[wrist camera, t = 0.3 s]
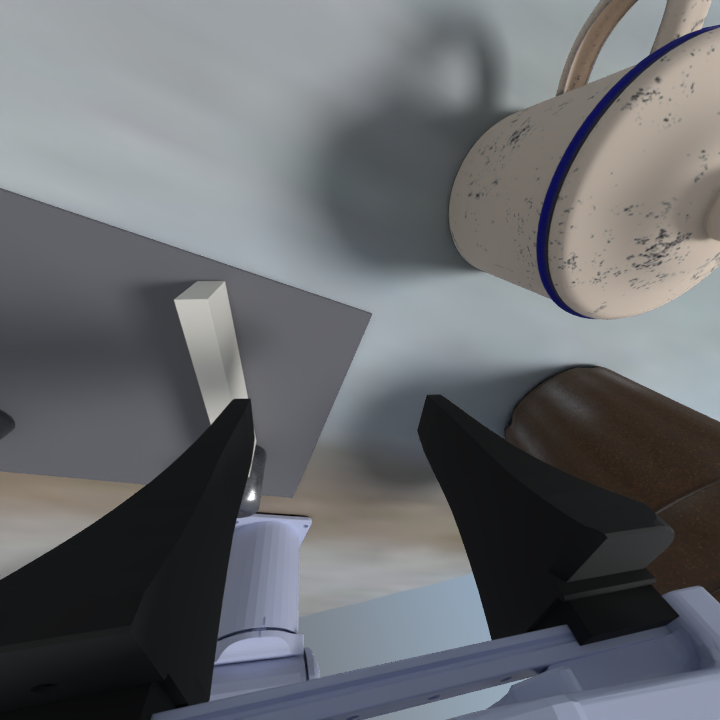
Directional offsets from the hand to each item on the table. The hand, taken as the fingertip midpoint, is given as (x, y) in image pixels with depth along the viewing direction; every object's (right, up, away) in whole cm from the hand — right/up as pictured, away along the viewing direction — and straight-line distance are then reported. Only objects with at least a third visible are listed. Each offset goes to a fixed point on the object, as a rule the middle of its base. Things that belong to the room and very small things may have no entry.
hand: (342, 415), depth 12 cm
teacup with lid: (+10, +14, +5) cm, 18 cm away
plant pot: (+21, -3, +17) cm, 27 cm away
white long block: (-8, +1, +8) cm, 12 cm away
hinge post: (-9, -6, +13) cm, 16 cm away
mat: (-12, 0, +9) cm, 15 cm away
